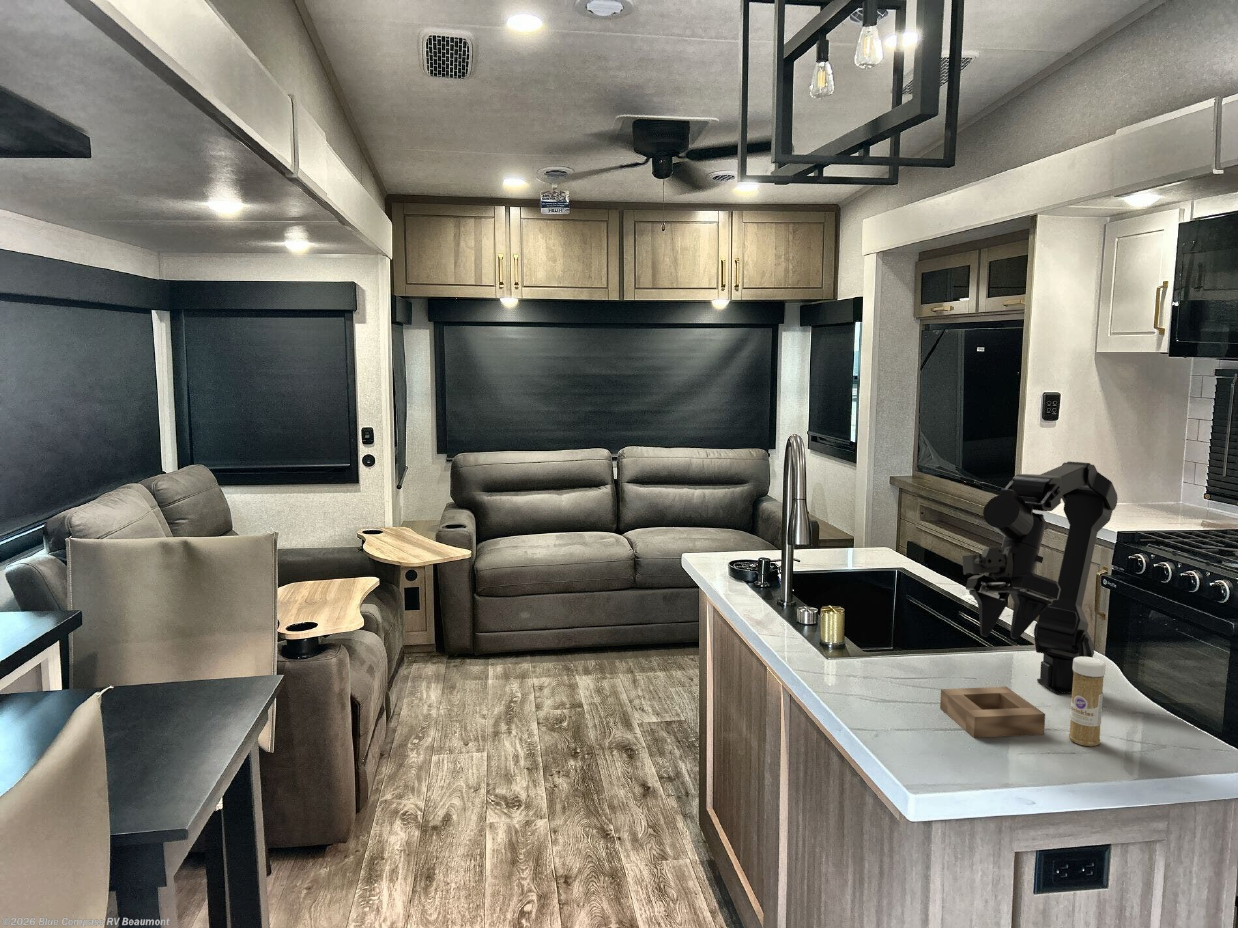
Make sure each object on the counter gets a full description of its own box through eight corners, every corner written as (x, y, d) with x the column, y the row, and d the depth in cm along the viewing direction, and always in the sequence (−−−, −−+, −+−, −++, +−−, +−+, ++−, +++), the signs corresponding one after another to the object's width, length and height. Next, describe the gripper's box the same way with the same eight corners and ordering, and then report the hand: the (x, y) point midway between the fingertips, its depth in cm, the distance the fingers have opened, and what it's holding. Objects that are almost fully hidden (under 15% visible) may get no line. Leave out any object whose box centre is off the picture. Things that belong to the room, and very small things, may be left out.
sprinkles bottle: (1065, 741, 138) (1069, 660, 137) (1072, 732, 142) (1076, 653, 140) (1097, 749, 135) (1102, 667, 134) (1103, 740, 139) (1108, 659, 137)
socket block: (1005, 705, 153) (1006, 686, 153) (1044, 734, 141) (1045, 713, 141) (940, 708, 152) (940, 689, 152) (973, 737, 140) (974, 716, 140)
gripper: (949, 535, 153) (927, 619, 150) (1006, 526, 134) (982, 622, 132) (1007, 555, 153) (986, 640, 150) (1072, 549, 135) (1049, 646, 132)
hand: (998, 636), depth 141 cm, fingers open, 9 cm apart
